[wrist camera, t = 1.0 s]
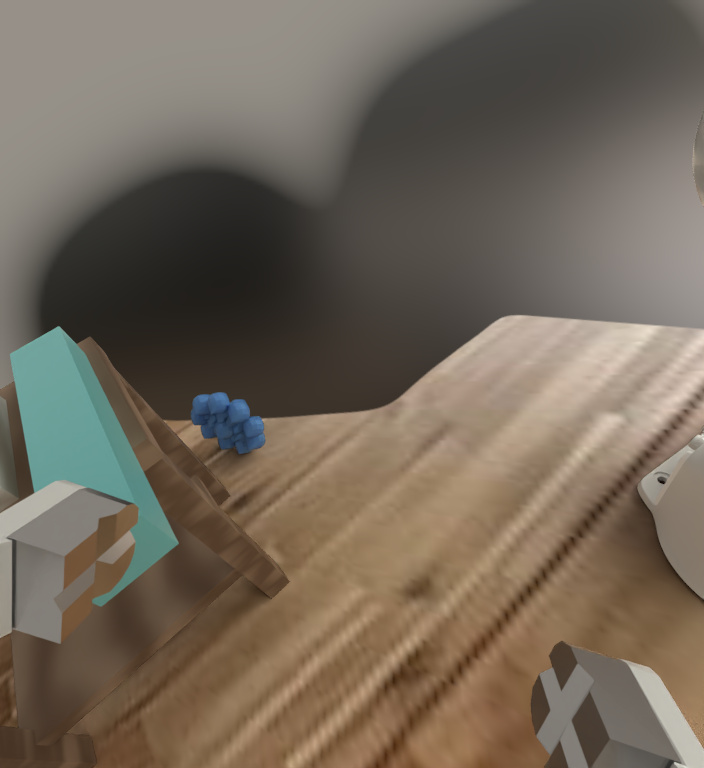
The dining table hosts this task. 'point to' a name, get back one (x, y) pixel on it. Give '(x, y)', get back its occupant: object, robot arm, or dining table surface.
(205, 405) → the grapes
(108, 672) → the shelf
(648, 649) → the dining table surface
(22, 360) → the module bar
